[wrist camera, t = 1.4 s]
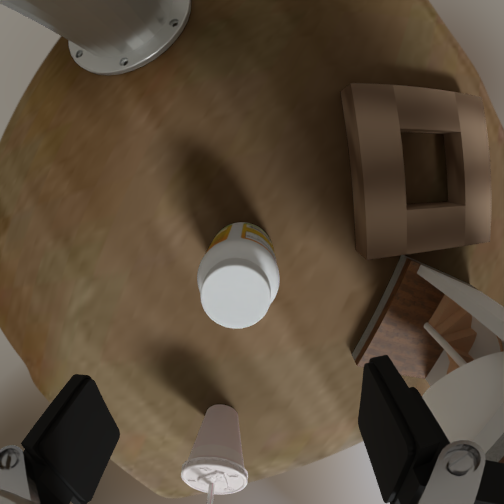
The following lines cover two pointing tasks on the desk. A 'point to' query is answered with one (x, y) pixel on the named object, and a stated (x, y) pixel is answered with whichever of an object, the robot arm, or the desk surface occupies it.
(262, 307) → the supplement bottle
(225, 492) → the smoothie
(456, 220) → the socket block
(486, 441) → the tall seamed white column
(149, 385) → the desk surface
